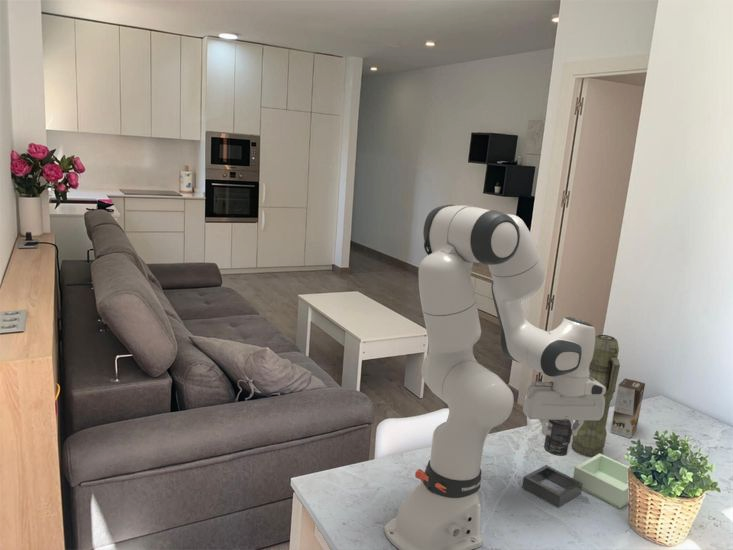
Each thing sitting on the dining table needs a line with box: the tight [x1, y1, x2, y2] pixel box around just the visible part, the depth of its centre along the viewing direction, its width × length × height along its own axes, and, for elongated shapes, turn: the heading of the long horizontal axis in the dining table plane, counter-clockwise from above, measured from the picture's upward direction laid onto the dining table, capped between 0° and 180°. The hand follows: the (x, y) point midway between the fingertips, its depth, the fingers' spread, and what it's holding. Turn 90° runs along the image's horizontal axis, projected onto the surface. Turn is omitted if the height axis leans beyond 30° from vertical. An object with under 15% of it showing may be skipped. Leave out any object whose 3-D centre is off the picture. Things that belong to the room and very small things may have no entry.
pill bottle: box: [543, 416, 574, 457], centre depth 144 cm, size 6×6×11 cm
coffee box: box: [609, 378, 646, 439], centre depth 184 cm, size 9×6×16 cm
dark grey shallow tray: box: [521, 464, 583, 508], centre depth 147 cm, size 10×10×3 cm
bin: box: [572, 453, 630, 510], centre depth 150 cm, size 13×13×5 cm
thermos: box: [571, 334, 621, 458], centre depth 167 cm, size 9×12×35 cm
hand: (558, 434), depth 144 cm, fingers closed on pill bottle, 6 cm apart
